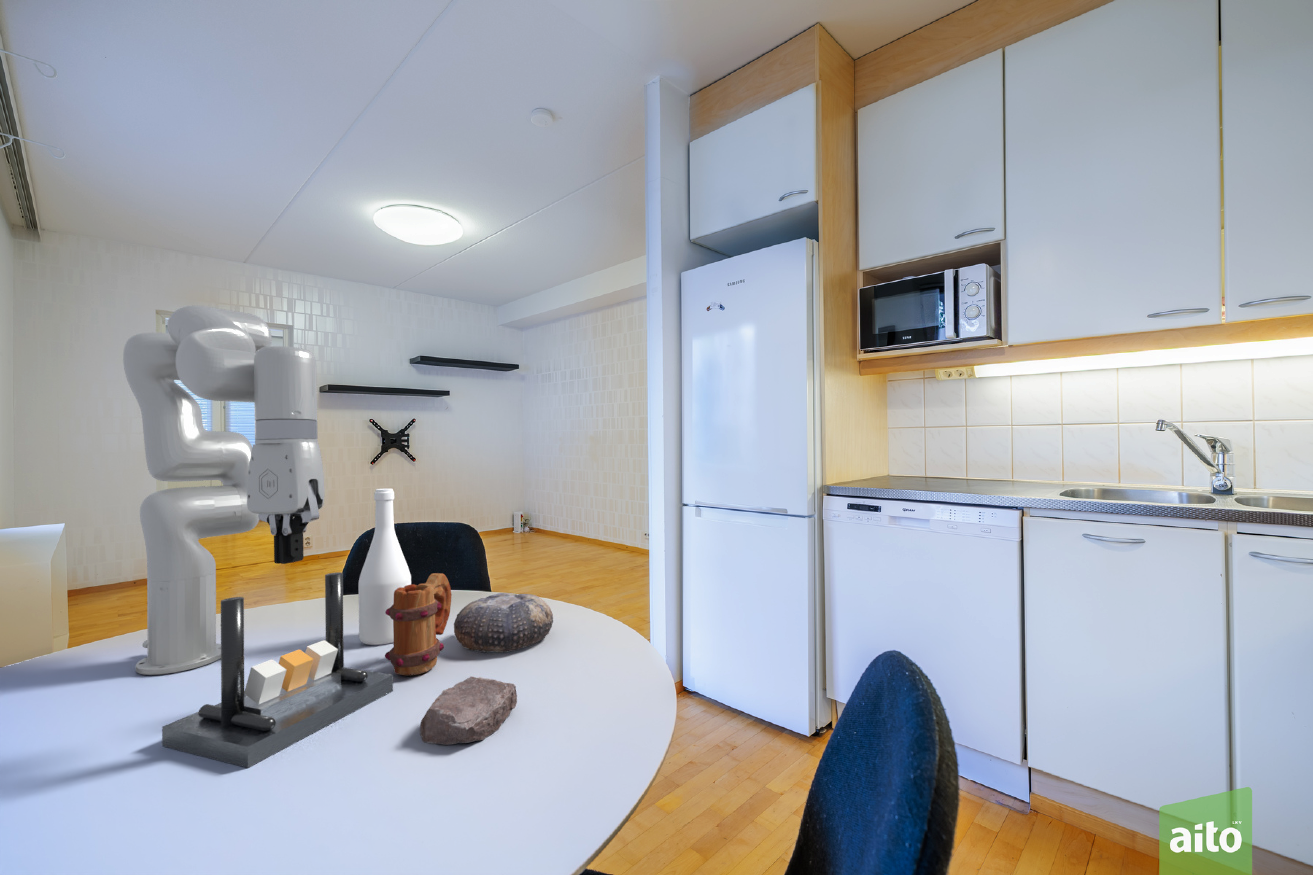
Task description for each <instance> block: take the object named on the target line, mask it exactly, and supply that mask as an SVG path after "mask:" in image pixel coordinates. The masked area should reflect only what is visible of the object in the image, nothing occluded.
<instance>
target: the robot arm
mask: <svg viewBox="0 0 1313 875" xmlns="http://www.w3.org/2000/svg"><path fill="white" fill-rule="evenodd" d="M166 326H167V331H168V332H167V333H166V332H142V333H136V334H135V335H132V336H131V337H130V338H128V339H127V340H126V342H125V344H124V348H123V353H122V362H123V370H124V374H125V378H126V380H127V382H128V385H129V387H130V389H131V392H132V393H133V396H134V397H135V399H136V402H137V404H138V406H139V408H140V413H141V419H142V421H141V422H142V433H143V441H144V443H143V444H144V451H145V453H144V454H145V460H146V467H147V470H148V472H149V474H150V475H151V477H152V478H153V479H155V480H157V481H160V482H161V481H162V482H168V483H169V482H173V483H174V482H176V483H177V482H197V481H198V482H199V481H201V482H202V481H203V482H204V481H220V482H221V483H222V485H212V486H211V485H209V486H208V485H207V486H205V485H204V486H202V485H201V486H188V487H187V486H186V487H184V486H183V487H173V488H166V489H162V490H158V491H155V492H153V493H151V494H149V495H147V496H146V497H145V498H144V499H143V501H142V503H141V504H140V508H139V519H140V520H139V521H140V523H141V524H140V525H141V528H142V534H143V538H144V539H143V540H144V543H145V544H144V545H145V553H146V554H145V555H146V571H147V572H146V576H147V578H146V580H147V582H146V583H147V584H146V585H147V590H146V592H147V594H146V595H147V603H146V604H147V606H146V608H147V610H146V613H147V618H146V620H147V632H146V635H147V640H144V641H143V642H142V648H145V649H146V650H147V651H146V652H147V656H146V657H144V658H142V659H140V660H138V661H137V663H135V672H136V673H138V674H139V675H144V676H145V675H147V676H153V675H154V676H155V675H159V676H160V675H167V674H173V673H174V674H175V673H179V672H183V671H188V670H192V669H196V668H200V667H203V666H206V665H209V664H211V663H215V662H216V661H218V660H221V643H217V584H216V583H217V574H216V573H217V569H216V568H217V567H216V566H217V564H216V560H215V558H214V556H213V555H212V553H211V552H210V551H209V550H208V549H207V548H205V547H204V546H203V545H202V544H201V543H200V542H199V540H200V539H206V538H211V537H219V536H220V537H221V536H228V535H235V534H241V533H246V532H250V531H252V530H253V529H255V527H257V525H258V524H259V522H260V521H262V522H265V523H267V524H268V525H269V530H270V534H271V535H272V536H273V561H274V562H273V563H275V564H277V565H278V564H282V565H287V564H291V563H296V562H301V561H303V560H304V558H305V557H304V533H306V532H307V528H308V524H309V523H311V522H314V521H317V520H319V519H320V511H319V510H321V509H322V508H323V506H324V503H325V477H324V476H325V475H324V474H325V473H324V466H323V459H322V458H323V457H322V453H321V449H320V444H319V442H318V441H319V439H318V436H319V435H318V393H317V392H318V390H317V389H318V388H317V385H318V384H317V360H316V357H315V355H314V354H313V353H312V352H311V351H309V350H307V349H304V348H300V347H295V346H286V345H285V346H280V345H275V346H274V345H272V339H273V338H272V333H271V329H270V327H269V325H268V323H267V322H266V321H264V319H263V318H261V317H259V316H258V315H256V314H252V313H247V312H242V311H236V310H232V309H231V310H230V309H223V308H219V307H211V306H205V305H187V306H183V307H180V308H178V309H175V311H173V312H172V313H171V314H170V315H169V318H168V320H167V325H166ZM175 381H180V382H181V384H182V385H183V386H184V387H185V388H186V389H188V391H190V392H191V393H192V394H193V395H195V396H197V397H198V398H201V399H203V400H207V401H214V402H235V403H236V402H238V403H253V404H254V444H252V443H251V442H250V440H249V439H248V437H246V435H243V434H242V433H239V432H237V431H236V432H235V431H227V430H226V431H224V430H223V431H222V430H221V431H220V430H219V431H216V430H206V429H205V427H204V423H203V416H202V409H201V407H200V404H199V403H198V401H197V400H196V399H195V398H194V397H193V396H192V395H191V394H190V393H189V392H188V391H187V390H186V389H185V388H183V387H182V386H181V385H179V384H177V383H176V382H175Z"/></svg>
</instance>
